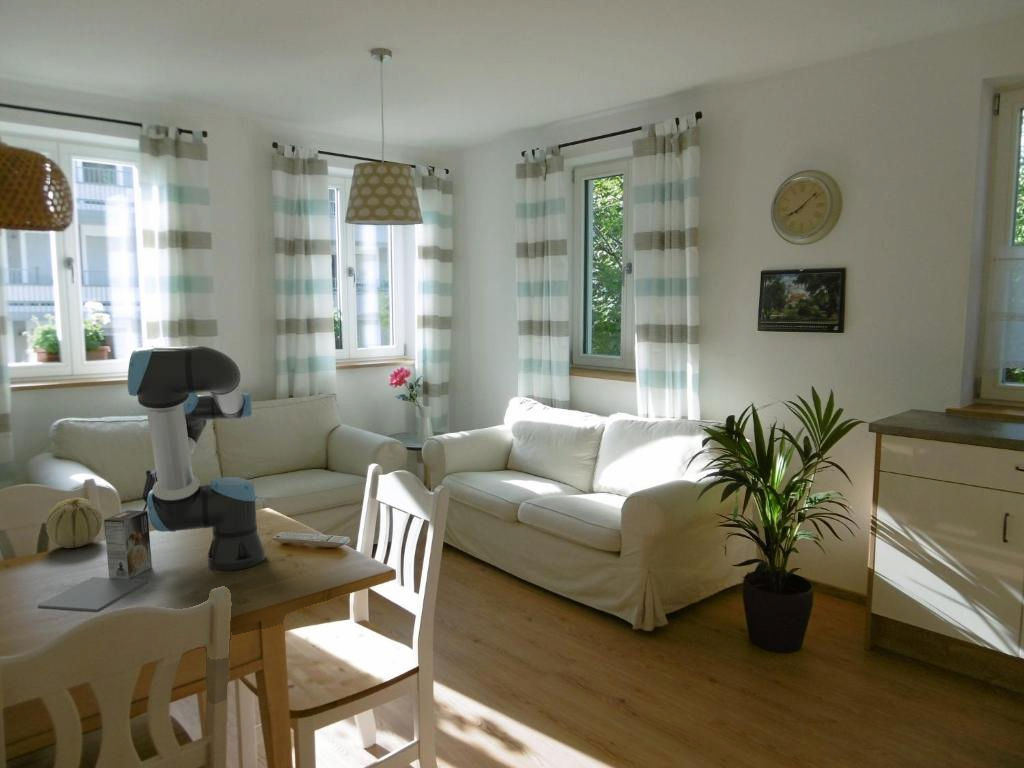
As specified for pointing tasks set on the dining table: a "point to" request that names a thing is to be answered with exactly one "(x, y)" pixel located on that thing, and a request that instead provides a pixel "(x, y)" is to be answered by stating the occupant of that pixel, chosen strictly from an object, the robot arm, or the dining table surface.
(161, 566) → the dining table surface
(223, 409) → the robot arm
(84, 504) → the cantaloupe
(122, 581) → the slate mat
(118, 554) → the coffee box
